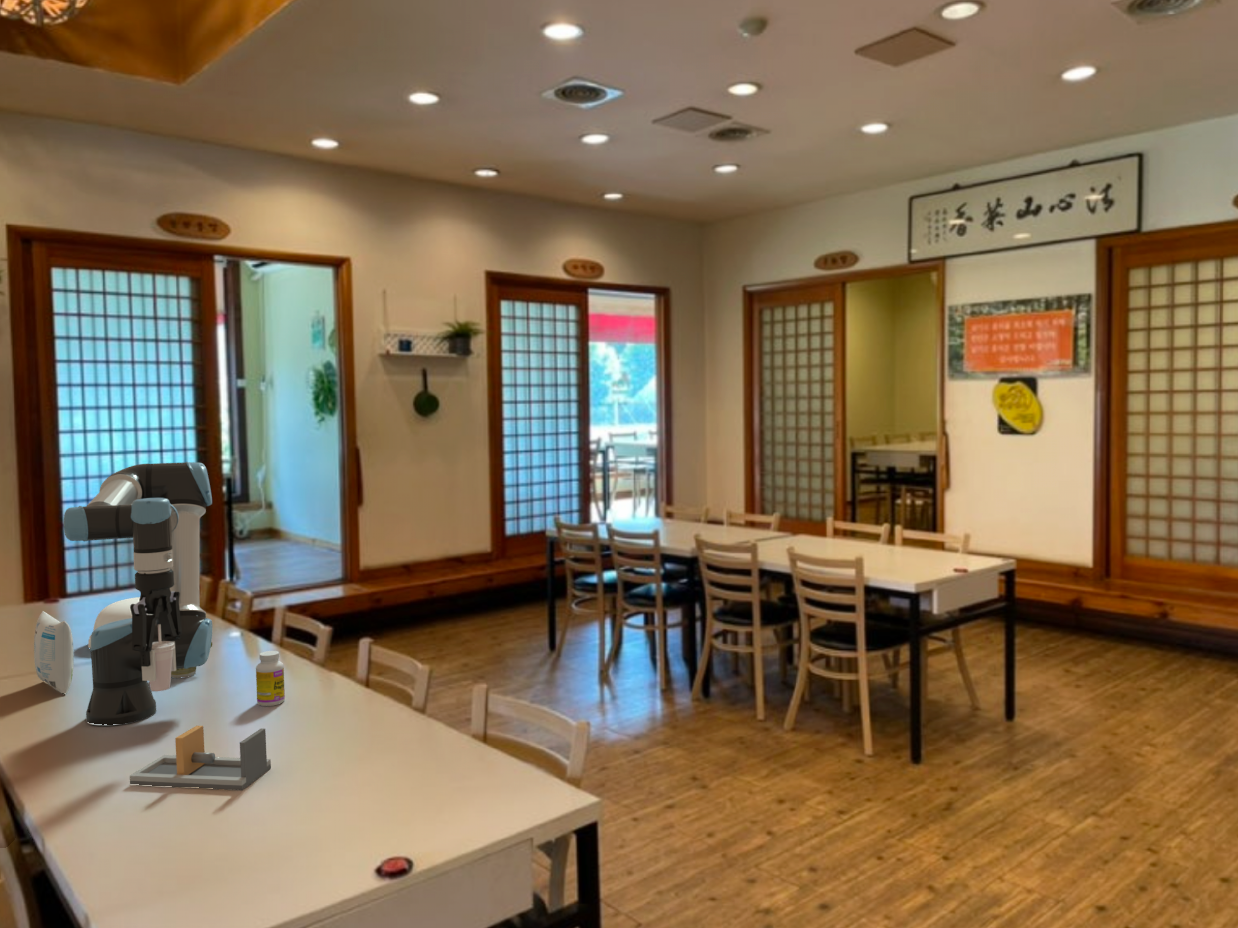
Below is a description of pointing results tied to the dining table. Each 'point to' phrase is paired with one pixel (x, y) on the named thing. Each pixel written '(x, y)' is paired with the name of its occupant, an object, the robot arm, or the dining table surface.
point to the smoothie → (162, 663)
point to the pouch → (54, 652)
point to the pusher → (191, 751)
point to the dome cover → (115, 613)
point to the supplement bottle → (270, 679)
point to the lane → (211, 769)
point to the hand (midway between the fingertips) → (159, 675)
